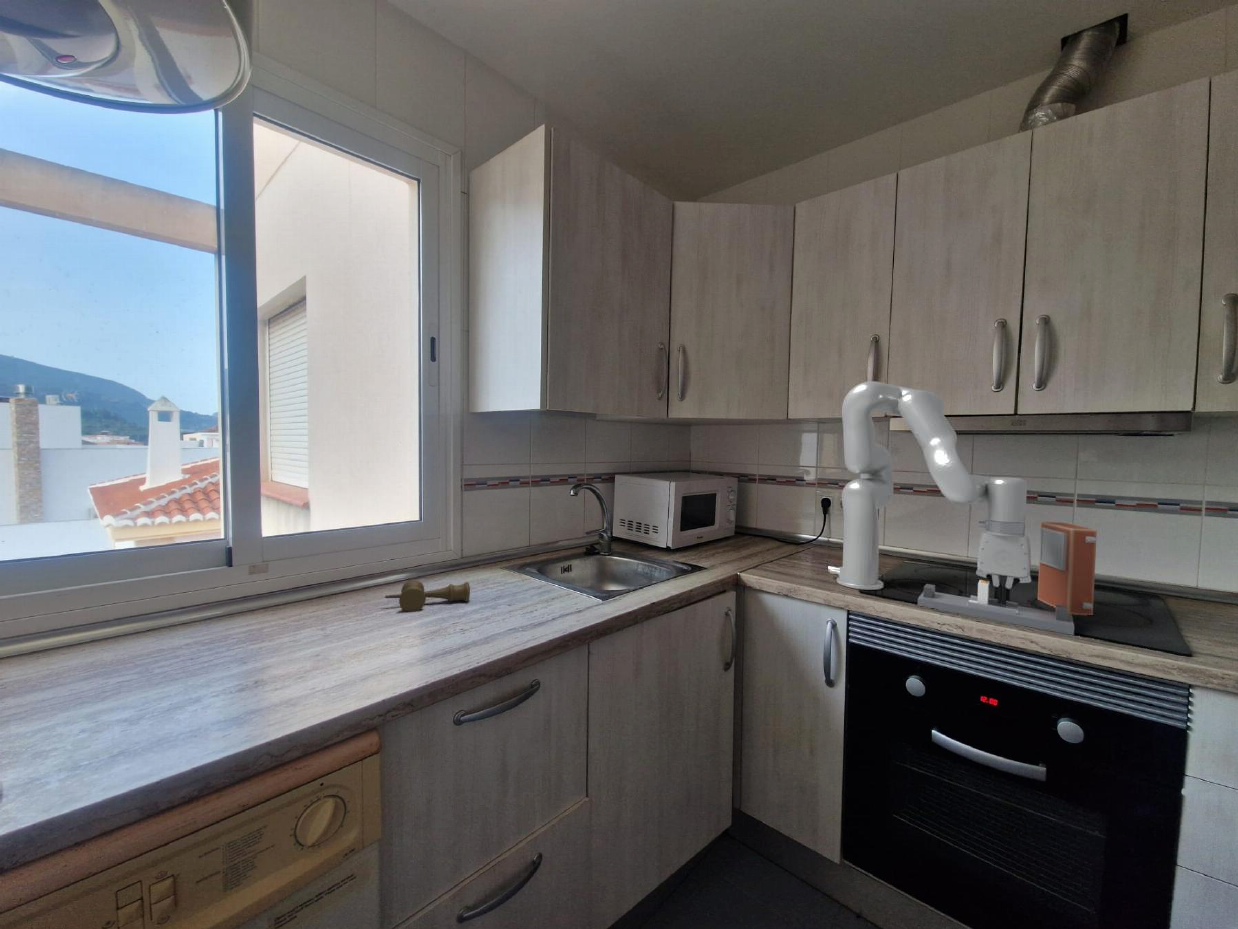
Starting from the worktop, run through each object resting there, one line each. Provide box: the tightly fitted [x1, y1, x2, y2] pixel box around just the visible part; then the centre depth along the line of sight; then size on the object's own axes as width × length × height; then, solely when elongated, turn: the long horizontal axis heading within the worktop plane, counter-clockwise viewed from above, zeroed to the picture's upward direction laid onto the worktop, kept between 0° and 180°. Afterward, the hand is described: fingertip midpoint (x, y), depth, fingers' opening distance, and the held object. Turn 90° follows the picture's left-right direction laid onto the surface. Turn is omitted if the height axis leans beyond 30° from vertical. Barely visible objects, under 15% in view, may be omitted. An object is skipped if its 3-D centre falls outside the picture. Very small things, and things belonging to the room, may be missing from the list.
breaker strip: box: [917, 583, 1075, 636], centre depth 124 cm, size 30×10×4 cm, turn 50°
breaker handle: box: [977, 579, 990, 605], centre depth 125 cm, size 2×4×6 cm, turn 140°
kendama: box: [384, 579, 471, 613], centre depth 126 cm, size 6×10×20 cm
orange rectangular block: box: [1037, 521, 1098, 616], centre depth 130 cm, size 21×7×15 cm
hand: (1001, 602), depth 123 cm, fingers closed
